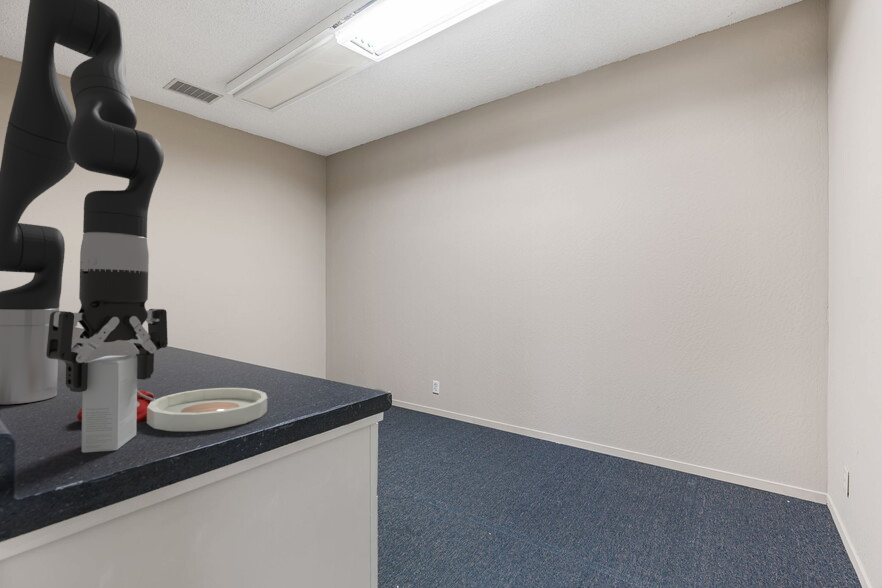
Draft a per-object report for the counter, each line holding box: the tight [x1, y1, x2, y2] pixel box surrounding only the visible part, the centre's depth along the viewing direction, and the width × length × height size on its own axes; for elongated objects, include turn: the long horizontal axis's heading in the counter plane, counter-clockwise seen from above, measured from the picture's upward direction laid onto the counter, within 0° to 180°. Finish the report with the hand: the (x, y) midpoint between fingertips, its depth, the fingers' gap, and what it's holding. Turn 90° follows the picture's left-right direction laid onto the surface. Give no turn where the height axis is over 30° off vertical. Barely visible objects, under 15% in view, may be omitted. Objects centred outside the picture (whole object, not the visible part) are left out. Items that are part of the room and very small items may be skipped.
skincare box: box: [81, 355, 138, 454], centre depth 58 cm, size 6×4×12 cm
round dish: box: [146, 387, 268, 432], centre depth 73 cm, size 18×18×3 cm
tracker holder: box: [76, 388, 156, 423], centre depth 71 cm, size 12×4×10 cm
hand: (112, 384), depth 58 cm, fingers open, 8 cm apart
